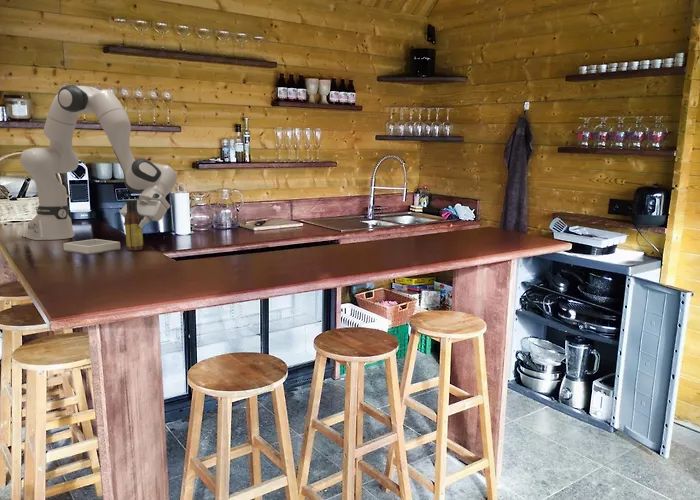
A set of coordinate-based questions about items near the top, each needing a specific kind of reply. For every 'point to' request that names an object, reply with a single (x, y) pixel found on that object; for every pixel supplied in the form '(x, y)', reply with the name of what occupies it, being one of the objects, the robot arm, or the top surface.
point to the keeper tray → (91, 246)
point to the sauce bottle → (133, 226)
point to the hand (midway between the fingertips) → (132, 226)
